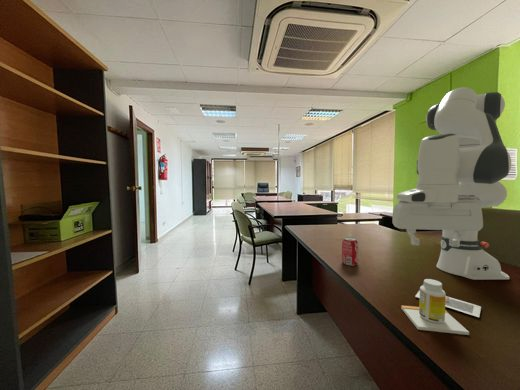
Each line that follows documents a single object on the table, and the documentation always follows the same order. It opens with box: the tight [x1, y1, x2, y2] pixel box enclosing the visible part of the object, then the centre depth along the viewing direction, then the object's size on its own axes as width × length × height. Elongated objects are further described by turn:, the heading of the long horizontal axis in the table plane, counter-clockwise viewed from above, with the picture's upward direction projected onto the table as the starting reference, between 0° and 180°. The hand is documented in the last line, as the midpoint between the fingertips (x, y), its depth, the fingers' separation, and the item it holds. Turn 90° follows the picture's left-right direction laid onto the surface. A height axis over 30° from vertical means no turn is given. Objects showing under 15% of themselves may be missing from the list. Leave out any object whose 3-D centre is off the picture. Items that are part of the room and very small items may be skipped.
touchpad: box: [414, 289, 482, 318], centre depth 69 cm, size 8×15×2 cm, turn 42°
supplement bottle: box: [418, 278, 447, 323], centre depth 60 cm, size 6×6×10 cm
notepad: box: [400, 305, 470, 336], centre depth 60 cm, size 12×10×1 cm
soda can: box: [341, 236, 359, 267], centre depth 102 cm, size 7×7×12 cm
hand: (434, 245), depth 59 cm, fingers open, 8 cm apart
